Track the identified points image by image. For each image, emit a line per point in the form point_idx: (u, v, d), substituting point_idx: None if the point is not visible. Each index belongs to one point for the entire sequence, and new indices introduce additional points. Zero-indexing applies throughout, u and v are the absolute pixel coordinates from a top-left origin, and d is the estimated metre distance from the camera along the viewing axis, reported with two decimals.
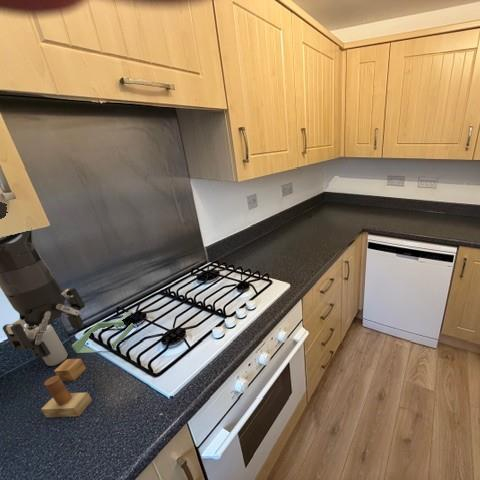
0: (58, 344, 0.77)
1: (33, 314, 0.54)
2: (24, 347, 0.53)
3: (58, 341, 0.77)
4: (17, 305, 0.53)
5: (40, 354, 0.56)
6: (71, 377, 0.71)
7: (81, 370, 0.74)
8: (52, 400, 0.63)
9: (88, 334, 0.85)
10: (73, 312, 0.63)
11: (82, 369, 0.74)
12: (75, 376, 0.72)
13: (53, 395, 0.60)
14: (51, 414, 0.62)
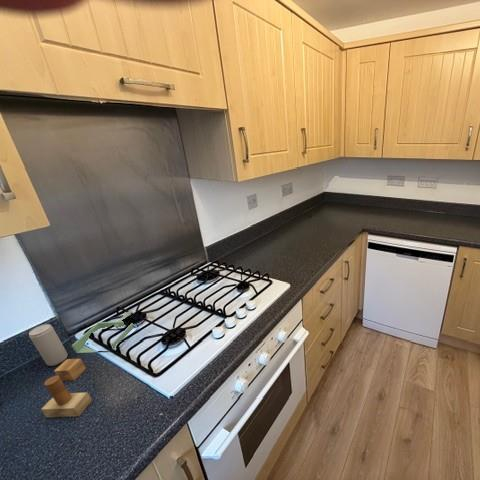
0: (58, 344, 0.77)
1: None
2: None
3: (58, 341, 0.77)
4: None
5: None
6: (71, 377, 0.71)
7: (81, 370, 0.74)
8: (52, 400, 0.63)
9: (88, 334, 0.85)
10: None
11: (82, 369, 0.74)
12: (75, 376, 0.72)
13: (53, 395, 0.60)
14: (51, 414, 0.62)
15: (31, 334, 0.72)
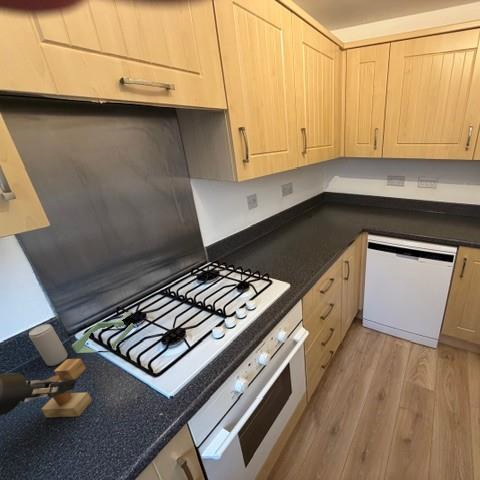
0: (58, 344, 0.77)
1: None
2: None
3: (58, 341, 0.77)
4: None
5: None
6: (71, 377, 0.71)
7: (81, 370, 0.74)
8: (52, 400, 0.63)
9: (88, 334, 0.85)
10: None
11: (82, 369, 0.74)
12: (75, 376, 0.72)
13: None
14: (51, 414, 0.62)
15: (31, 334, 0.72)
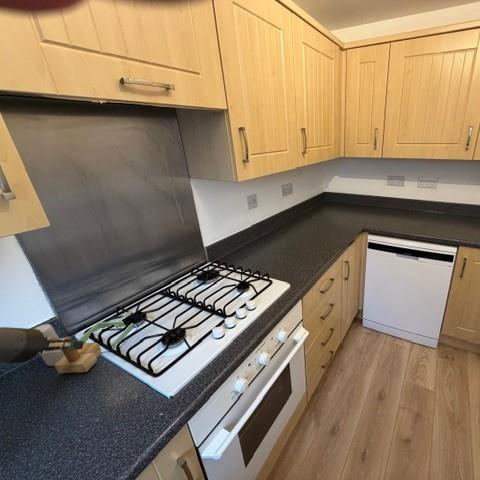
0: None
1: None
2: None
3: None
4: None
5: None
6: None
7: (98, 353, 0.79)
8: (63, 358, 0.74)
9: (88, 334, 0.85)
10: None
11: (99, 352, 0.79)
12: None
13: (65, 353, 0.71)
14: (62, 370, 0.73)
15: None
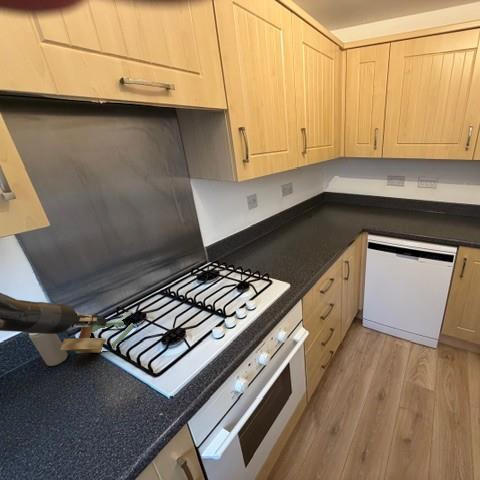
0: (58, 344, 0.77)
1: None
2: None
3: (58, 341, 0.77)
4: None
5: None
6: None
7: (99, 349, 0.80)
8: None
9: None
10: (89, 325, 0.77)
11: (100, 349, 0.80)
12: None
13: None
14: (67, 345, 0.74)
15: (31, 334, 0.72)
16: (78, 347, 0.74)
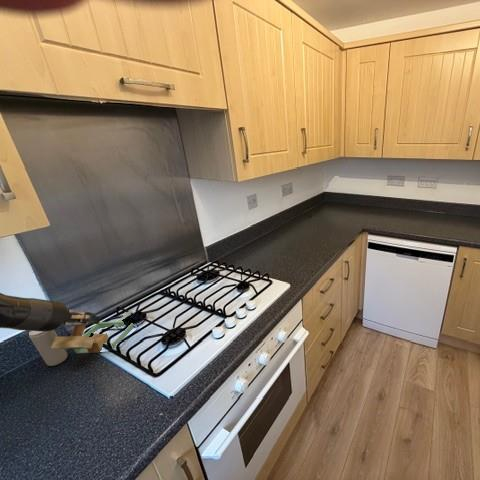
0: None
1: None
2: None
3: None
4: None
5: None
6: (99, 339, 0.80)
7: None
8: None
9: (88, 334, 0.85)
10: None
11: None
12: (99, 342, 0.80)
13: None
14: (58, 343, 0.72)
15: (31, 334, 0.72)
16: (70, 345, 0.72)
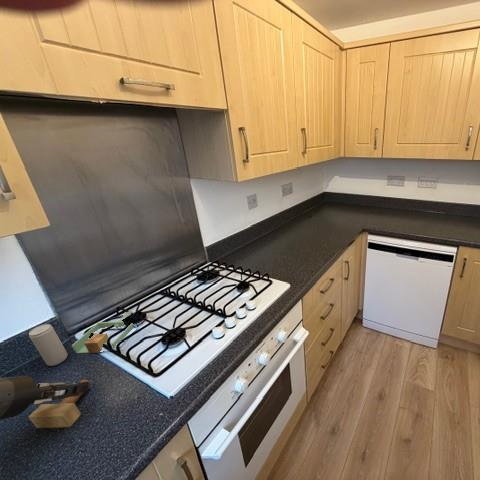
0: (58, 344, 0.77)
1: None
2: None
3: (58, 341, 0.77)
4: None
5: None
6: (99, 339, 0.80)
7: None
8: None
9: (88, 334, 0.85)
10: None
11: None
12: (99, 342, 0.80)
13: None
14: (40, 412, 0.59)
15: (31, 334, 0.72)
16: (52, 414, 0.59)
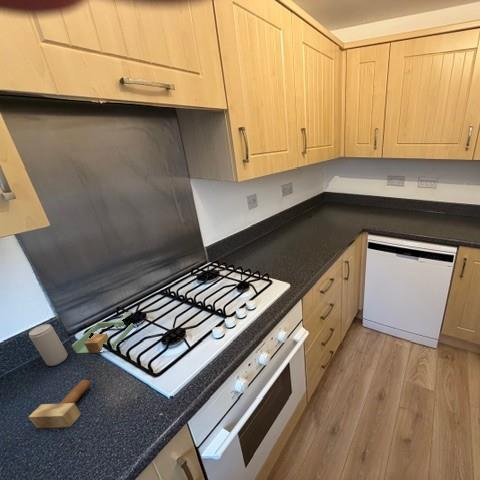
0: (58, 344, 0.77)
1: None
2: None
3: (58, 341, 0.77)
4: None
5: None
6: (99, 339, 0.80)
7: None
8: None
9: (88, 334, 0.85)
10: None
11: None
12: (99, 342, 0.80)
13: (72, 391, 0.65)
14: (40, 412, 0.59)
15: (31, 334, 0.72)
16: (52, 414, 0.59)
